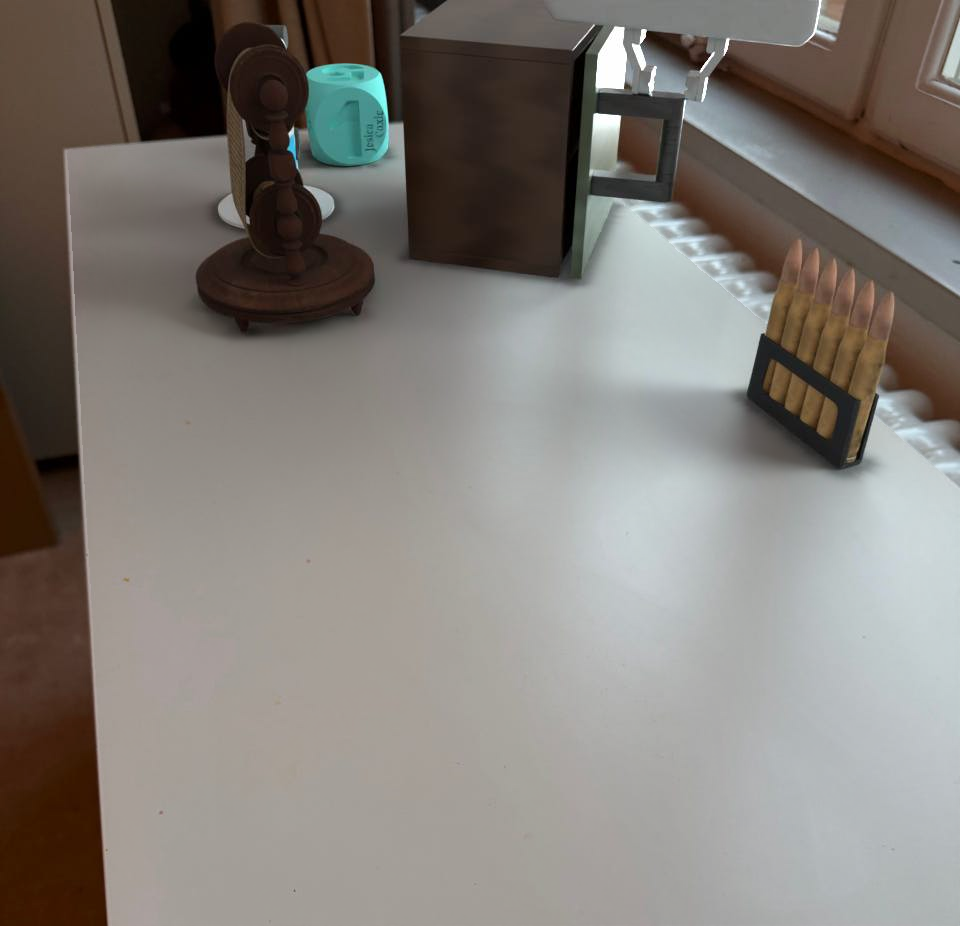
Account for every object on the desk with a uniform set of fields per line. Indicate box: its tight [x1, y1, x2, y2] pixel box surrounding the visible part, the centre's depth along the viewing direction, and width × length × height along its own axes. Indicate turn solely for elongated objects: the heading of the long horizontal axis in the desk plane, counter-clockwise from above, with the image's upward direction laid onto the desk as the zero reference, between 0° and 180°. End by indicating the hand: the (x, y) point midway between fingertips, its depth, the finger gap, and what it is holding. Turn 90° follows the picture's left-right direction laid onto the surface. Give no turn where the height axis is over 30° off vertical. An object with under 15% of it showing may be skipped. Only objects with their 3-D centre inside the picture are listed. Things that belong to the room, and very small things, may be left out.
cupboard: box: [399, 0, 603, 279], centre depth 92 cm, size 14×18×18 cm
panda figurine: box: [217, 24, 335, 230], centre depth 97 cm, size 12×11×15 cm
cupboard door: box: [569, 26, 686, 280], centre depth 90 cm, size 8×18×18 cm, turn 166°
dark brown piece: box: [195, 21, 376, 334], centre depth 81 cm, size 15×15×20 cm
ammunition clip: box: [746, 237, 895, 470], centre depth 69 cm, size 11×2×12 cm, turn 26°
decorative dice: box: [304, 63, 390, 167], centre depth 111 cm, size 8×8×8 cm
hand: (667, 95), depth 81 cm, fingers closed on cupboard door, 3 cm apart
